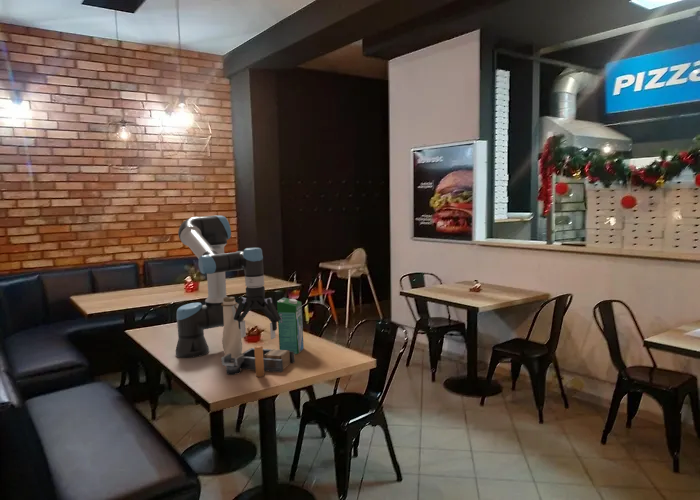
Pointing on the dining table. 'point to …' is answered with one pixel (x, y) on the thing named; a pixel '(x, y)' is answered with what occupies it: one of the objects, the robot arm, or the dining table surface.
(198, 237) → the robot arm
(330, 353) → the dining table surface
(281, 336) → the milk carton
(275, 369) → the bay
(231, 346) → the water bottle
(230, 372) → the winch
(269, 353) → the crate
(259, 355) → the handle peg
